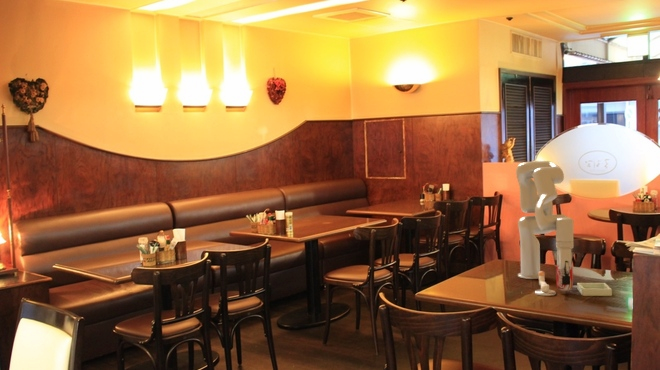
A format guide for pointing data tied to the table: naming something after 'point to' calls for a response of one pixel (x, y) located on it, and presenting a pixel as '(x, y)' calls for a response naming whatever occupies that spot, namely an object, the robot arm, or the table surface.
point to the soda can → (559, 279)
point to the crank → (543, 282)
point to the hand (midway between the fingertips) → (564, 282)
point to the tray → (594, 289)
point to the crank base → (544, 293)
